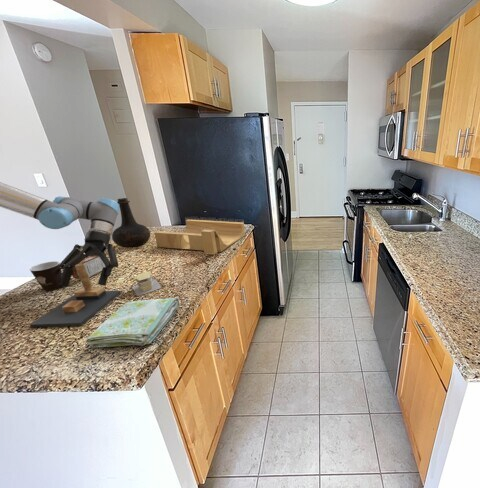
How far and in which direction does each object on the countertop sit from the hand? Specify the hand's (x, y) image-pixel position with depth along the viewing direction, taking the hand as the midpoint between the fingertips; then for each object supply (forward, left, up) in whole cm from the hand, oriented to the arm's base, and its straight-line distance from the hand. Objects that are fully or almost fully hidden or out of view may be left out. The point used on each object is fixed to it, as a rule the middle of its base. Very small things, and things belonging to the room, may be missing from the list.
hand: (82, 285), depth 97 cm
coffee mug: (-22, +12, -8) cm, 26 cm away
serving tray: (0, -4, -7) cm, 8 cm away
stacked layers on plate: (+16, +10, -8) cm, 20 cm away
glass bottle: (-18, +59, -8) cm, 62 cm away
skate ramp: (+20, +60, -8) cm, 64 cm away
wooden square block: (0, -6, -6) cm, 9 cm away
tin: (-15, +23, -8) cm, 28 cm away
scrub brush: (0, +2, -6) cm, 6 cm away
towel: (+28, -16, -8) cm, 33 cm away
